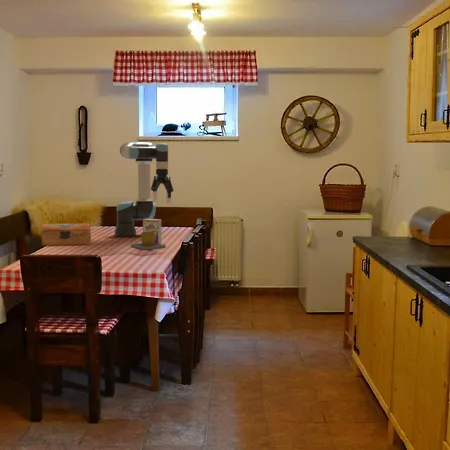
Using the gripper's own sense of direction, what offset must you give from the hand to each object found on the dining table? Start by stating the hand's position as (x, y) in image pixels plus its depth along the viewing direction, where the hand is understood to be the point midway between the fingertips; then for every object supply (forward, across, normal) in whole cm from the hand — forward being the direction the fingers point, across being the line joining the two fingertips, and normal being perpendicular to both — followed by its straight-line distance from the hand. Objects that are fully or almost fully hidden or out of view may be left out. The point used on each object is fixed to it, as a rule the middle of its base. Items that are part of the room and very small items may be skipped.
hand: (161, 202), depth 384 cm
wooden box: (+29, -41, -44) cm, 67 cm away
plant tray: (+28, +4, -13) cm, 31 cm away
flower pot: (+27, +4, -13) cm, 30 cm away
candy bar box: (+28, -9, -1) cm, 30 cm away
